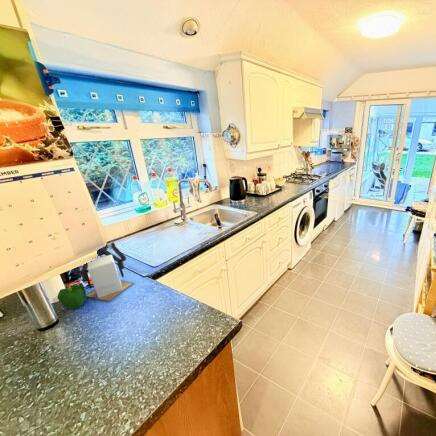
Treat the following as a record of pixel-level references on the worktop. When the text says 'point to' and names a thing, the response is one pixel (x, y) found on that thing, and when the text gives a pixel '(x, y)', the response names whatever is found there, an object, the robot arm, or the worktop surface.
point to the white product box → (104, 276)
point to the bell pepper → (72, 296)
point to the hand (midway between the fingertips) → (107, 281)
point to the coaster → (109, 297)
